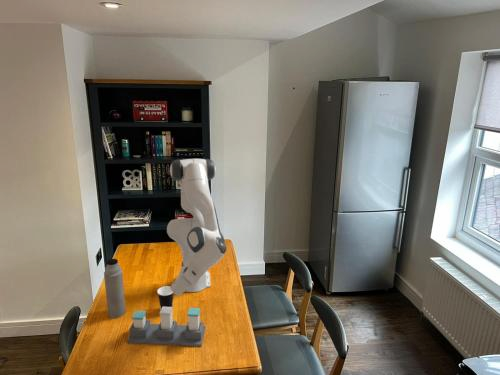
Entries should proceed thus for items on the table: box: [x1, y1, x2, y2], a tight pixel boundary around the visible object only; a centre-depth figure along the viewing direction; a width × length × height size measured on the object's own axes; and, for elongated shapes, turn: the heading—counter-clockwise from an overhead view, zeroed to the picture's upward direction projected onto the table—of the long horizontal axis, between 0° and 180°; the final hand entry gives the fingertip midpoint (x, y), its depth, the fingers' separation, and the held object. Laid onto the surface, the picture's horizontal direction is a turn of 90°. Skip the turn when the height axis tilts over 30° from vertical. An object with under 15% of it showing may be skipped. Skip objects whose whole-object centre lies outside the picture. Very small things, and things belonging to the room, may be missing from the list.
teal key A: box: [131, 310, 147, 328], centre depth 161 cm, size 5×5×9 cm
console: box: [126, 319, 207, 347], centre depth 161 cm, size 12×32×5 cm, turn 88°
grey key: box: [159, 306, 174, 330], centre depth 159 cm, size 5×5×9 cm
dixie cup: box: [156, 285, 174, 310], centre depth 178 cm, size 8×8×11 cm
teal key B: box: [187, 307, 201, 331], centre depth 159 cm, size 5×5×9 cm
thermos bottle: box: [103, 258, 127, 319], centre depth 172 cm, size 8×8×28 cm
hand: (172, 287), depth 155 cm, fingers closed
